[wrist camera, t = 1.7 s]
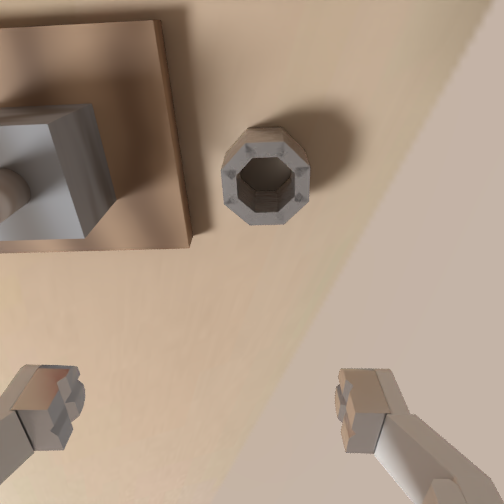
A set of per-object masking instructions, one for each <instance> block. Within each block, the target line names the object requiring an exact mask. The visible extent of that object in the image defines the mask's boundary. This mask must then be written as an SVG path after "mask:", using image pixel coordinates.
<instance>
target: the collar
mask: <svg viewBox="0 0 504 504" xmlns="http://www.w3.org/2000/svg"><path fill="white" fill-rule="evenodd" d="M266 157H278V158H279V159H280V160H281V161H282V162H283V163H284V164H286V165H287V166H288V167H289V168H290V169H291V177H290V178H289V179H288V180H287V181H286V182H285V183H284V184H283V185H282V186H281V187H280V188H279V189H278V190H277V191H255V190H254V189H253V188H251V187H250V186H249V185H248V184H247V183H246V182H244V181H243V180H242V179H241V177H240V171H241V170H242V169H243V168H244V167H245V166H246V164H247V163H248V162H249V161H250V160H251V159H252V158H266ZM221 177H222V188H223V198H224V205H226V206H227V207H228V208H229V209H231V210H232V211H233V212H234V213H235V214H237V215H238V216H239V217H240V218H242V219H243V220H244V221H245V222H246V223H248V224H249V225H280V224H285V223H286V222H287V221H288V220H289V219H290V218H291V217H293V216H294V215H295V214H296V213H297V212H298V211H299V210H300V209H301V208H302V207H303V206H305V205H306V204H307V203H308V202H309V188H310V164H309V161H308V159H307V156H306V153H305V150H304V149H303V148H302V147H301V146H300V145H299V144H298V143H297V142H296V141H295V140H294V139H293V138H292V137H291V136H290V135H289V134H288V133H287V132H286V131H285V130H284V129H283V128H282V127H266V128H247V129H246V131H245V132H244V133H243V134H242V135H241V136H240V137H239V138H238V140H237V141H236V142H235V143H234V144H233V145H232V146H231V148H230V149H229V150H228V151H227V152H226V154H225V157H224V161H223V164H222V168H221Z"/></svg>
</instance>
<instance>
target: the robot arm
mask: <svg viewBox="0 0 504 504" xmlns="http://www.w3.org/2000/svg"><path fill="white" fill-rule="evenodd" d="M79 376H80V372H79V370H78V367H76V366H61V365H25V366H23V367H22V368H20V370H19V371H18V372H17V374H16V375H15V377H14V378H13V380H12V381H11V382H10V384H9V385H8V387H7V388H6V389H5V391H4V392H3V394H2V395H1V397H0V485H1V484H2V483H3V482H4V481H5V480H6V479H7V478H8V477H9V476H10V475H11V474H12V473H13V472H14V471H15V470H16V469H17V468H18V467H19V466H21V465H22V464H23V463H24V462H25V461H26V460H27V459H28V458H29V457H30V456H31V455H32V454H33V453H34V451H49V450H64V448H65V446H66V444H67V442H68V440H69V437H70V435H71V433H72V431H73V427H72V424H71V422H72V421H73V420H75V419H76V418H77V417H78V416H80V413H81V411H82V409H83V405H84V401H85V388H84V385H83V384H82V383H81V382H80V381H79V380H78V378H79ZM338 379H339V383H340V384H339V385H338V386H337V387H336V391H335V407H336V413H337V417H338V419H339V420H340V421H341V422H342V428H341V435H342V439H343V444H344V448H345V452H346V453H370V454H374V456H375V457H376V458H377V459H378V461H379V462H380V463H381V464H382V465H383V466H384V468H385V469H386V470H387V472H388V473H389V474H390V475H391V476H392V478H393V479H394V480H395V481H396V482H397V484H398V485H399V486H400V487H401V489H402V490H403V491H404V492H405V493H406V495H407V496H408V497H409V498H410V500H411V501H412V502H413V503H414V504H504V502H503V500H502V498H501V496H500V495H499V493H498V491H497V489H496V487H495V485H494V484H493V482H492V480H491V478H490V477H488V476H487V475H486V474H485V473H484V472H482V471H481V470H480V469H479V468H478V467H477V466H476V465H474V464H473V463H472V462H471V461H470V460H468V459H467V458H466V457H465V456H464V455H463V454H461V453H460V452H459V451H458V450H457V449H456V448H454V447H453V446H452V445H451V444H450V443H448V442H447V441H446V440H445V439H444V438H442V437H441V436H440V435H439V434H438V433H437V432H435V431H434V430H433V429H432V428H431V427H429V426H428V425H427V424H426V423H425V422H424V421H422V420H421V419H420V418H419V417H418V416H416V415H413V414H410V412H409V410H408V407H407V405H406V403H405V401H404V398H403V396H402V394H401V391H400V389H399V387H398V384H397V382H396V380H395V377H394V375H393V373H392V371H391V370H390V369H340V371H339V375H338Z"/></svg>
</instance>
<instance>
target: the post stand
mask: <svg viewBox="0 0 504 504" xmlns="http://www.w3.org/2000/svg"><path fill="white" fill-rule="evenodd" d="M192 238H193V234H192V227H191V220H190V214H189V207H188V200H187V193H186V187H185V180H184V173H183V167H182V160H181V153H180V146H179V140H178V133H177V126H176V120H175V113H174V106H173V100H172V93H171V86H170V79H169V73H168V66H167V59H166V53H165V46H164V39H163V32H162V26H161V20H145V21H127V22H108V23H90V24H72V25H54V26H36V27H18V28H0V253H31V252H68V251H105V250H142V249H179V248H189V247H190V244H191V241H192Z"/></svg>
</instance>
